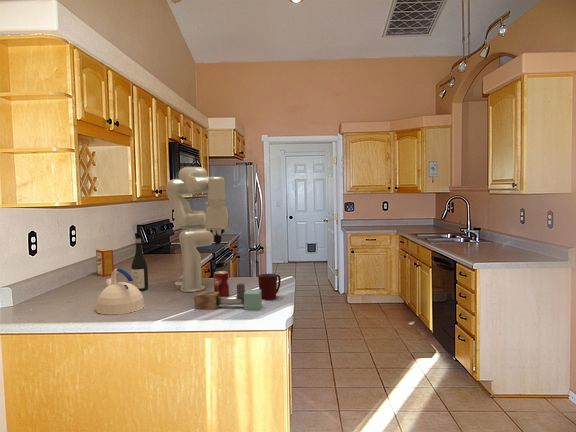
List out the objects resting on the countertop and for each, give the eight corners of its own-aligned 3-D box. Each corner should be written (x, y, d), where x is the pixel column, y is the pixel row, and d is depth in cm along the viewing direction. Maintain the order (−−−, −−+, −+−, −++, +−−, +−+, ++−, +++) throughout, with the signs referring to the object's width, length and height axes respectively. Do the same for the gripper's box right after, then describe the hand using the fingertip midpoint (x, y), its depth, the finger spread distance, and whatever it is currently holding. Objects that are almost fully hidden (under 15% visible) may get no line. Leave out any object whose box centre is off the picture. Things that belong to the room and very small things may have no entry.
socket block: (244, 309, 195) (243, 293, 194) (247, 305, 203) (246, 289, 202) (259, 309, 194) (258, 293, 194) (261, 305, 202) (261, 289, 202)
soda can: (217, 299, 214) (216, 274, 213) (212, 296, 220) (211, 271, 219) (231, 297, 217) (230, 272, 216) (226, 294, 224) (225, 270, 223)
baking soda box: (97, 274, 281) (95, 249, 280) (107, 273, 286) (106, 248, 285) (103, 276, 275) (102, 250, 274) (113, 275, 279) (112, 249, 278)
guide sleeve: (194, 309, 197) (194, 295, 197) (198, 305, 204) (198, 291, 203) (216, 309, 196) (215, 295, 196) (219, 305, 203) (219, 291, 202)
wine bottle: (143, 291, 233) (140, 233, 231) (129, 291, 234) (126, 233, 232) (151, 288, 240) (148, 232, 238) (137, 287, 242) (135, 232, 240)
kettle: (128, 300, 216) (126, 263, 214) (153, 307, 202) (152, 267, 201) (87, 310, 200) (85, 269, 199) (111, 318, 187) (109, 274, 186)
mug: (274, 294, 222) (273, 271, 221) (286, 297, 216) (285, 274, 215) (254, 298, 214) (254, 275, 213) (266, 301, 208) (266, 278, 207)
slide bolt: (204, 305, 198) (203, 284, 198) (206, 303, 202) (205, 283, 201) (254, 305, 196) (253, 284, 196) (255, 303, 200) (254, 283, 199)
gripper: (198, 204, 203) (199, 245, 205) (231, 204, 202) (232, 244, 203) (202, 203, 211) (204, 242, 212) (234, 203, 210) (235, 242, 211)
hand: (217, 243), depth 208 cm, fingers closed
